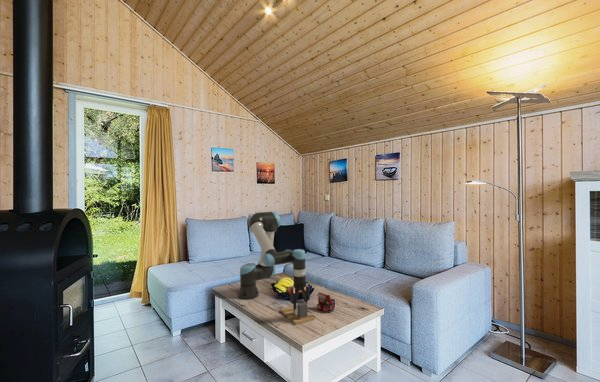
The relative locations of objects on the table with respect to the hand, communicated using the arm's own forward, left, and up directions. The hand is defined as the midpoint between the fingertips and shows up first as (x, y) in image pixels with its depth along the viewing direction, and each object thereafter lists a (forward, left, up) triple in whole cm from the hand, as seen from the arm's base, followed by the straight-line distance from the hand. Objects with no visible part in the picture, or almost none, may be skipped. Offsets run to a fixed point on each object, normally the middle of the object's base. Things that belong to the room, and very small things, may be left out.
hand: (300, 313), depth 178 cm
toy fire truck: (-3, +20, -4) cm, 21 cm away
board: (-5, 0, -3) cm, 6 cm away
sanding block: (0, 0, -2) cm, 2 cm away
